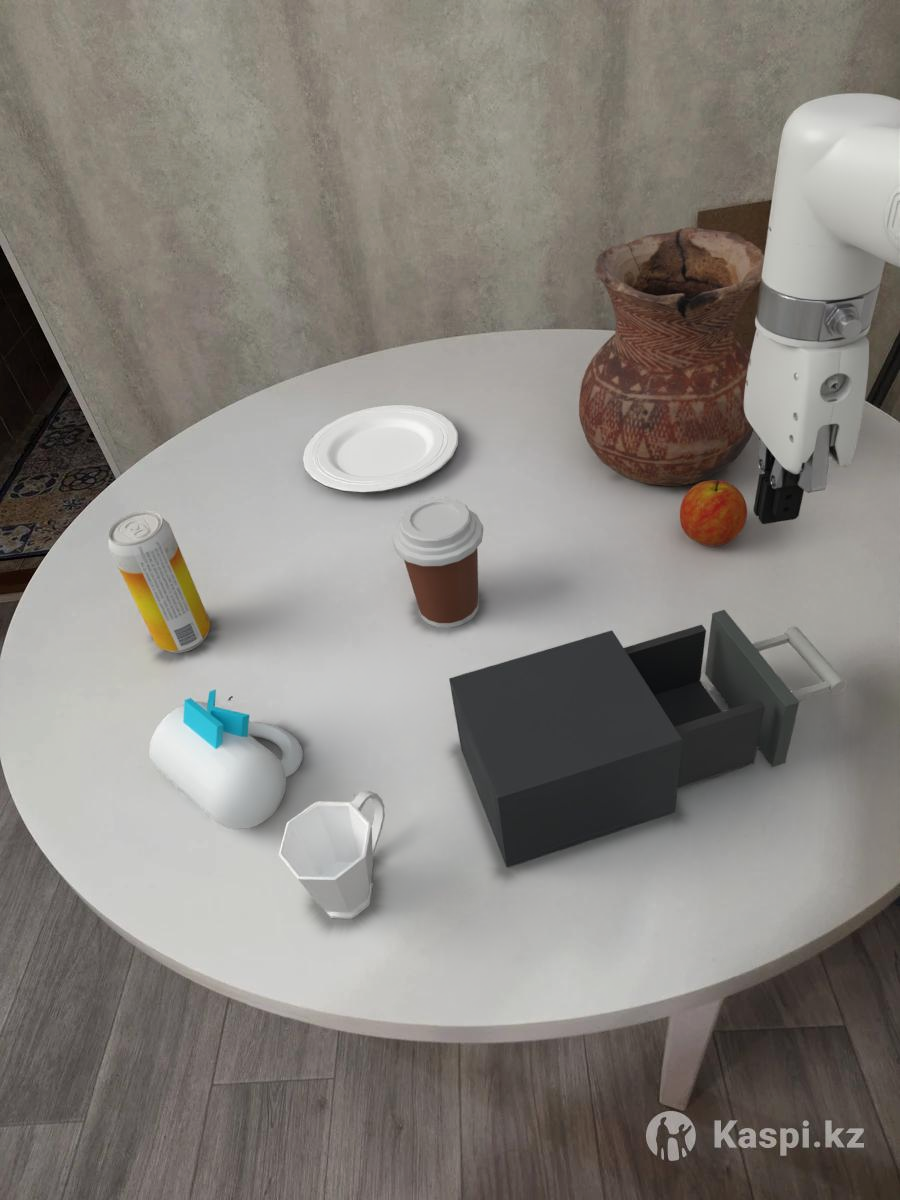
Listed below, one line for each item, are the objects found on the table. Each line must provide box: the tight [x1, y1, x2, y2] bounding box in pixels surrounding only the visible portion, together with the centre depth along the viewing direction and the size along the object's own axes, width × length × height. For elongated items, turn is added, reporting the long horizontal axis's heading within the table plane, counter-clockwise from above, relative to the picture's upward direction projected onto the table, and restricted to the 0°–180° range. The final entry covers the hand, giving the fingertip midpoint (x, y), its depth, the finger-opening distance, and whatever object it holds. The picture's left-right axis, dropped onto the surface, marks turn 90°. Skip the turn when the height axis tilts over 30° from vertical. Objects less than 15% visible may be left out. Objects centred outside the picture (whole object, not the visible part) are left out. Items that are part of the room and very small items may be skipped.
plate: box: [302, 404, 459, 494], centre depth 115 cm, size 21×21×2 cm
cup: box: [278, 790, 386, 920], centre depth 67 cm, size 7×10×8 cm
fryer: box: [448, 629, 682, 868], centre depth 71 cm, size 15×13×10 cm
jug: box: [578, 226, 765, 487], centre depth 100 cm, size 22×21×25 cm
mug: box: [148, 689, 304, 830], centre depth 76 cm, size 12×9×12 cm
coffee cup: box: [391, 496, 484, 629], centre depth 88 cm, size 9×9×12 cm
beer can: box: [107, 510, 211, 654], centre depth 89 cm, size 6×6×15 cm
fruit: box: [679, 479, 748, 547], centre depth 93 cm, size 7×7×8 cm
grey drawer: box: [623, 609, 847, 789], centre depth 73 cm, size 20×11×8 cm, turn 106°
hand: (775, 515), depth 72 cm, fingers closed
